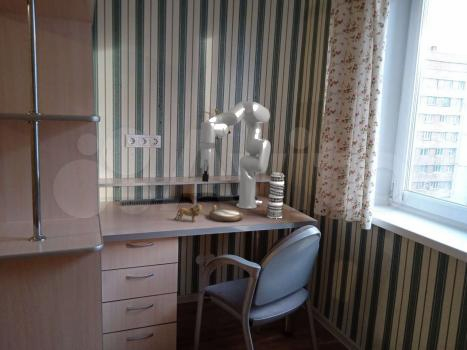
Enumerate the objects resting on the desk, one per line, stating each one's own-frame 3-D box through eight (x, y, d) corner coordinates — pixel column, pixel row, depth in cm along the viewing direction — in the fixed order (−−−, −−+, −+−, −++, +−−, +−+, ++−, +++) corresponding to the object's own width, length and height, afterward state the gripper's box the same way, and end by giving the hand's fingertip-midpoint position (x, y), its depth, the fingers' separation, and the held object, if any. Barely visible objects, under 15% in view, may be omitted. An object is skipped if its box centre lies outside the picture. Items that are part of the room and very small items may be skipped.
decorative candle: (263, 215, 208) (265, 171, 204) (275, 214, 213) (278, 171, 209) (273, 219, 200) (276, 174, 197) (286, 218, 206) (289, 173, 202)
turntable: (219, 210, 211) (220, 202, 210) (248, 215, 203) (248, 207, 202) (203, 217, 195) (203, 208, 195) (233, 223, 187) (233, 213, 187)
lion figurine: (202, 220, 193) (203, 203, 191) (201, 223, 187) (202, 205, 186) (174, 219, 193) (174, 202, 191) (172, 221, 187) (173, 204, 186)
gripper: (200, 145, 197) (199, 179, 199) (198, 146, 182) (197, 183, 184) (214, 146, 197) (212, 180, 199) (214, 147, 182) (212, 184, 184)
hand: (205, 181), depth 191 cm, fingers closed
